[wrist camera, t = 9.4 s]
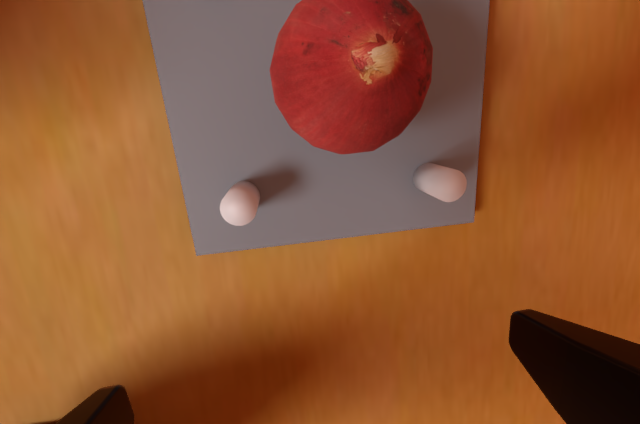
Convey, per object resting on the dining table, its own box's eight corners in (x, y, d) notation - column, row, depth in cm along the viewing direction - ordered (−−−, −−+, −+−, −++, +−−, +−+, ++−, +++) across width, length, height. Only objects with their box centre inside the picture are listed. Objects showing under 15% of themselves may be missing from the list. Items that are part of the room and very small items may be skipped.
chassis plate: (201, 247, 18) (182, 277, 14) (131, -98, 13) (77, -179, 10) (462, 216, 19) (503, 237, 16) (481, -101, 15) (545, -171, 11)
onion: (323, -10, 14) (376, -174, 6) (412, 76, 15) (544, 30, 8) (249, 97, 15) (217, 69, 7) (341, 169, 16) (396, 209, 9)
